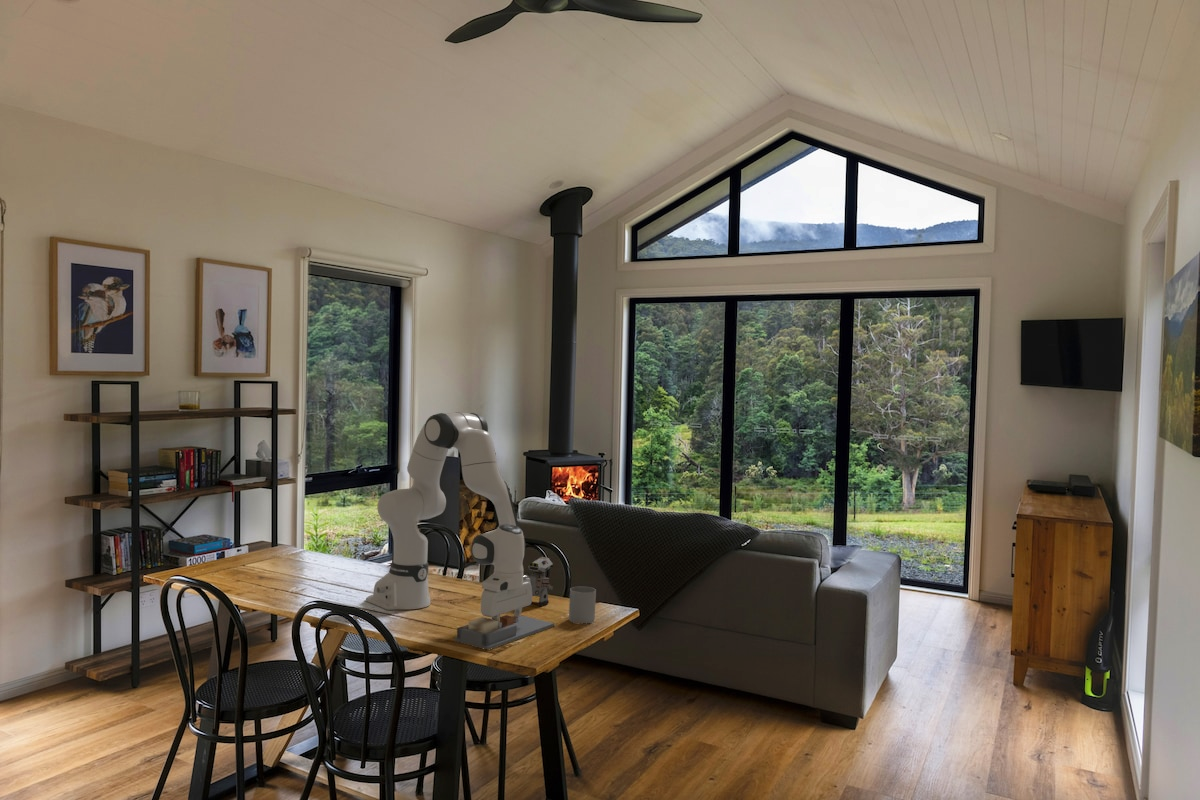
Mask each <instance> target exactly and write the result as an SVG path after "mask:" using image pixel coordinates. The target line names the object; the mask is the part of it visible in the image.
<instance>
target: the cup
mask: <svg viewBox="0 0 1200 800" xmlns="http://www.w3.org/2000/svg"><path fill="white" fill-rule="evenodd" d="M596 597H597V589H595V588H594V587H591V586H584V585H583V586H579V585H578V586H573V587H570V588H569V603H568V605H569V607H568V608H569V609H568V621H569V622H570V621H571V622H570V623H572V622H573V624H576V623H581V624H580V625H584V624H583V623H586V624H585V625H588V624H587V623H590V624H593V623H594V622H595V621H594V620H595V619H596ZM592 622H593V623H592Z"/></svg>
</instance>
